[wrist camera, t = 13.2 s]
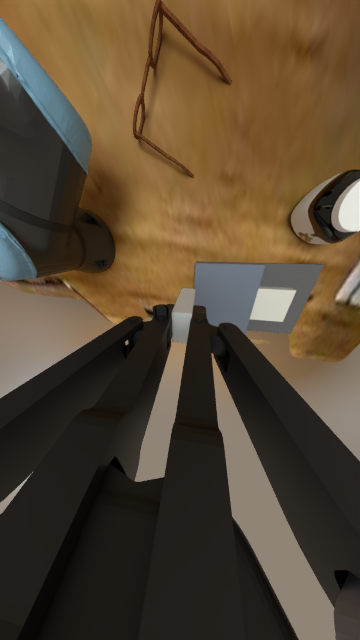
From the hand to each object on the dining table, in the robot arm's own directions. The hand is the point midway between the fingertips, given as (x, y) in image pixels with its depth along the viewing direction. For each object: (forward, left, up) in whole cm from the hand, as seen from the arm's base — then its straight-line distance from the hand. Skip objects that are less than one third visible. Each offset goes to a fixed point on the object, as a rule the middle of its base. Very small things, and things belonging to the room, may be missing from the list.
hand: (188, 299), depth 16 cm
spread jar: (+26, +12, -25) cm, 38 cm away
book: (+8, -8, -24) cm, 27 cm away
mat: (+24, -8, -24) cm, 35 cm away
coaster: (+21, -8, -24) cm, 33 cm away
